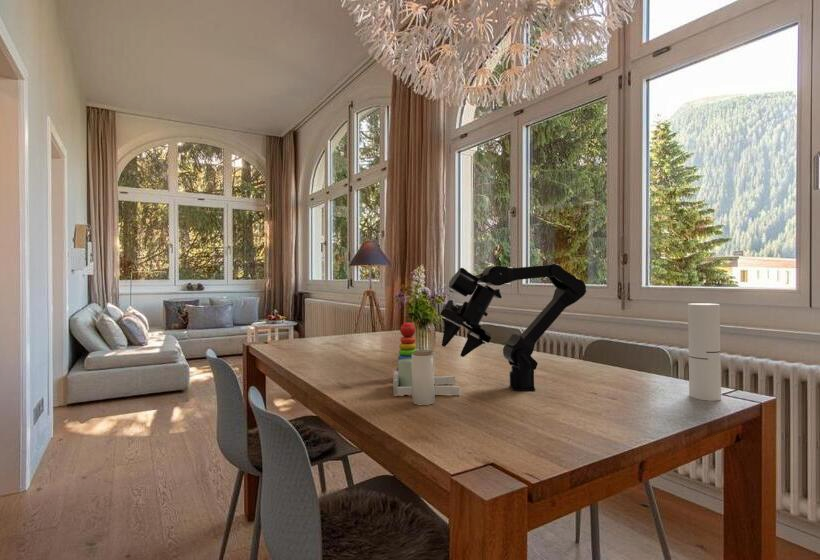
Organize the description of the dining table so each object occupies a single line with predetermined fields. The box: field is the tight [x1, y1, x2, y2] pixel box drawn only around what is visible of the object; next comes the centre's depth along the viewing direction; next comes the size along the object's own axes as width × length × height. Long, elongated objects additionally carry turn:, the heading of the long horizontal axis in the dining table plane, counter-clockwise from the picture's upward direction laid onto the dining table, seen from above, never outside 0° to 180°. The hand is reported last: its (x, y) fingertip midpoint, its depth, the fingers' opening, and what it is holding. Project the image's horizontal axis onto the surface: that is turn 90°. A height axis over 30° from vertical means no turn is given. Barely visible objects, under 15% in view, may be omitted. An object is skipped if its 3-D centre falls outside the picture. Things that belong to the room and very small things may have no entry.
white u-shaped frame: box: [392, 370, 461, 396], centre depth 133 cm, size 19×15×4 cm
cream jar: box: [411, 349, 436, 405], centre depth 120 cm, size 6×6×14 cm
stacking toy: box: [395, 321, 417, 377], centre depth 148 cm, size 8×8×19 cm
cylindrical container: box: [687, 302, 722, 402], centre depth 120 cm, size 7×7×25 cm
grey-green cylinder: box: [397, 359, 412, 387], centre depth 133 cm, size 6×6×9 cm
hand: (452, 351), depth 129 cm, fingers open, 9 cm apart
